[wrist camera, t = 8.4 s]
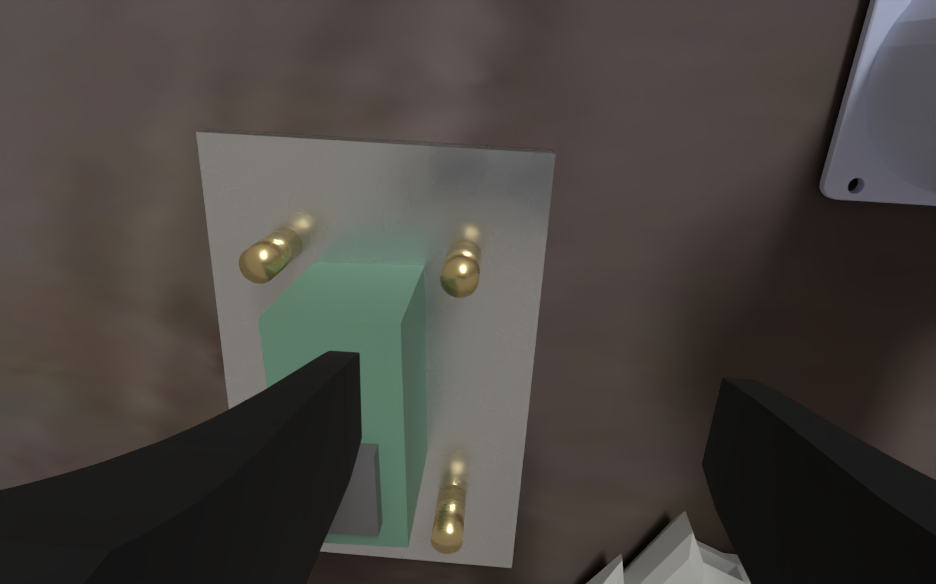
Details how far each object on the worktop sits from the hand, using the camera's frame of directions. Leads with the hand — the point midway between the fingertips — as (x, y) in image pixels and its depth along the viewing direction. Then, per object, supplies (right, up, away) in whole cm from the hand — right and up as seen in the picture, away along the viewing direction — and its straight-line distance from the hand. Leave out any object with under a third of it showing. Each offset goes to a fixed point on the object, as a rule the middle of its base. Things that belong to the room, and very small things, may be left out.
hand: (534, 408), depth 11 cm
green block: (-5, 0, +10) cm, 11 cm away
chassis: (-5, -1, +12) cm, 13 cm away
